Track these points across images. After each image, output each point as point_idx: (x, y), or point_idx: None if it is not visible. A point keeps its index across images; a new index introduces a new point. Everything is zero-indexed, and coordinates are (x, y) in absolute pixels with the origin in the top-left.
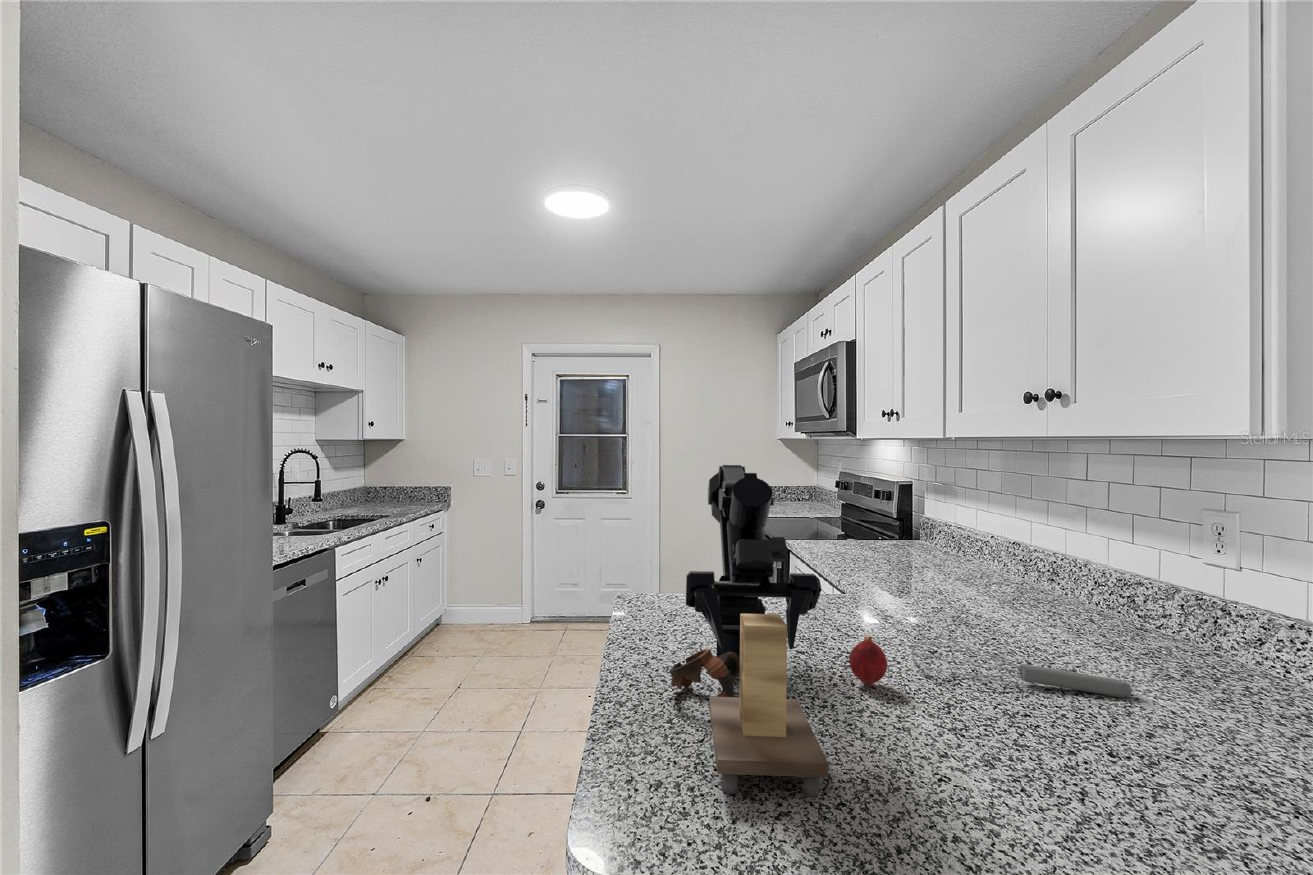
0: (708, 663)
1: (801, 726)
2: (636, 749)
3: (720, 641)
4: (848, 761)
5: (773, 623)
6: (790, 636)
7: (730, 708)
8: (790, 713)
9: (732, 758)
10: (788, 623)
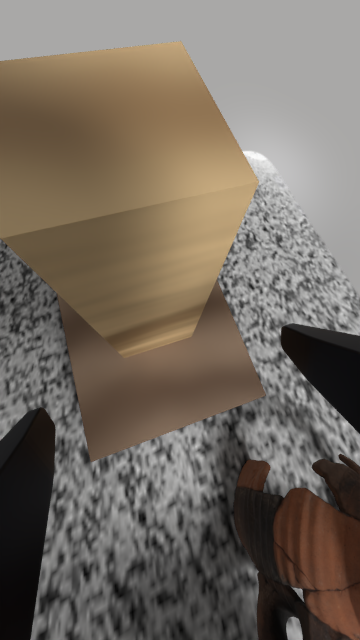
0: (332, 525)
1: (82, 337)
2: (306, 296)
3: (297, 324)
4: (29, 370)
5: (48, 82)
6: (23, 433)
7: (213, 360)
8: (103, 383)
9: None
10: (1, 566)
